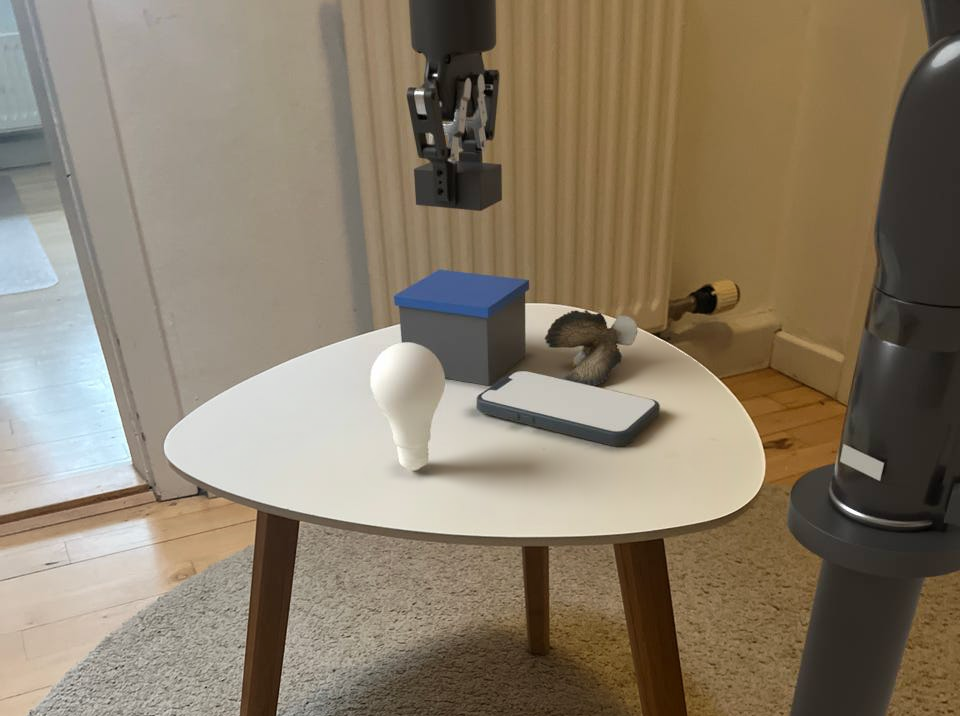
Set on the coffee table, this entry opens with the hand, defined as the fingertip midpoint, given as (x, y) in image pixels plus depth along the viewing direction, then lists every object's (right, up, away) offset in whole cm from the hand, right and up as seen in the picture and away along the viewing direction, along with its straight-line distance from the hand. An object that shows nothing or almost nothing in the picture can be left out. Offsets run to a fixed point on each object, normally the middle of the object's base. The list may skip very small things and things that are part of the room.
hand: (459, 198), depth 94 cm
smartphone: (+10, -21, -1) cm, 23 cm away
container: (0, -13, +10) cm, 17 cm away
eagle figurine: (+13, -15, +8) cm, 21 cm away
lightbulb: (-4, -28, -9) cm, 29 cm away
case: (0, 0, 0) cm, 0 cm away
